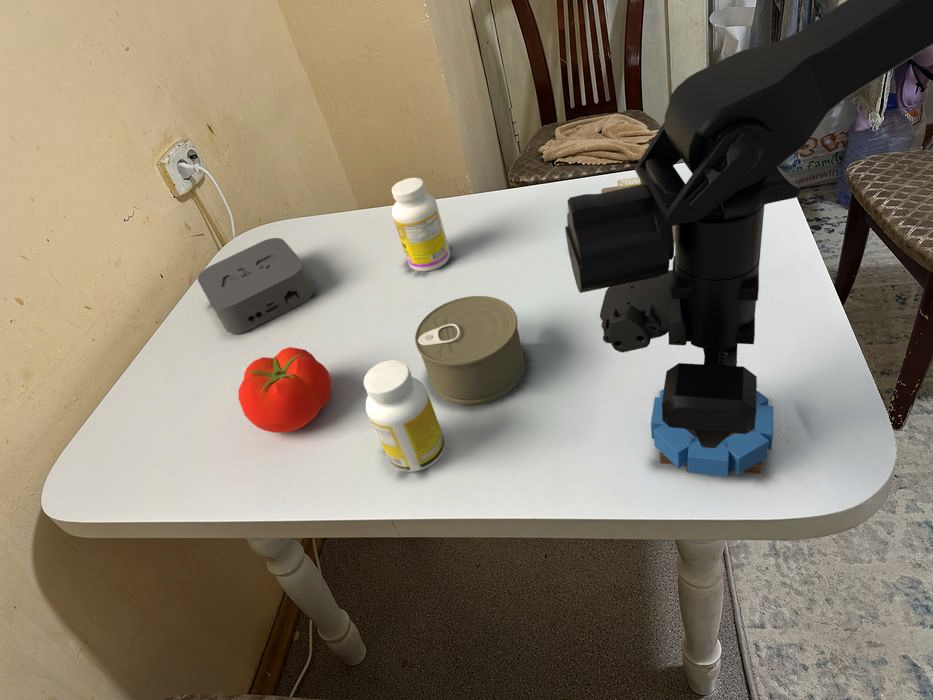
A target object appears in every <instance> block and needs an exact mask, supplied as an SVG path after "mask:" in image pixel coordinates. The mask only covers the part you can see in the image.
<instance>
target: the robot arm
mask: <svg viewBox="0 0 933 700" xmlns="http://www.w3.org/2000/svg"><path fill="white" fill-rule="evenodd" d="M932 46H933V0H845V1H843V2H842V3H841V4H839V5H837V6H836V7H834V8H833V9H832V10H830V11H828V12H827V13H825V14H824V15H822V16H821V17H819V18H818V19H816V20H815V21H814V22H812V23H810V24H809V25H807V26H805V28H803V29H801V30H799V31H797V32H795V33H793V34H791V35H789V36H787V37H785V38H783V39H781V40H778V41H774V42H770V43H766V44H762V45H758V46H756V47H755V46H754V47H750V48H746V49H742V50H740V51H738V52H736V53H734V54H731V55H730V56H728V57H725V58H723V59H721V60H719V61H717V62H715V63H713V64H710V65H709V66H707V67H705V68H703V69H700V70H699V71H696V72H695V73H693V74H691V75H690V76H688V77H687V78H685V79H684V80H683V81H682V82H681V83H680V84H679V85H677V87H676V88H675V89H674V90H673V92H672V93H671V95H670V96H669V102H668V105H667V108H666V110H665V114H664V122H663V123H662V125H661V127H660V128H659V129H658V131H657V132H656V134H655V136H654V137H653V139H652V140H651V141H650V144H649V145H648V146H647V148H646V149H645V151H644V153H643V154H642V155H641V157H640V159H639V160H638V162H637V164H636V165H635V166H634V171H635V173H636V175H637V178H639V183H640V184H641V185H637V186H632V187H628V188H623V189H618V190H614V191H609V192H605V193H601V192H600V193H585V194H579V195H575V196H570V197H569V198H568V199H567V210H568V212H567V215H566V222H567V225H566V226H565V227H564V229H565V237H566V244H567V248H568V249H567V250H568V254H569V260H570V265H571V269H572V272H573V278H574V280H575V284H576V287H577V290H578V293H580V294H583V293H588V292H593V291H598V290H602V289H606V290H605V293H604V297H603V301H602V305H601V308H600V312H599V319H600V320H601V325H600V326H601V329H602V330H603V336H602V340H603V342H605V344H611V346H612V348H613V350H615V351H616V352H619V353H627V352H631V351H637V350H640V349H646V348H648V346H649V345H650V344H651V340H653V339H658V338H661V337H663V336H666V335H667V334H668V345H669V346H686V345H687V343H688V342H690V344H691V346H694V347H696V348H700V349H702V350H703V355H704V356H703V357H704V359H703V363H686V362H685V363H684V362H678V363H677V364H675V365H673V366H672V367H670V368H669V369H668V370H666V373H665V379H664V385H663V389H664V392H663V399H662V421H663V422H664V423H665V424H666V425H668V426H669V427H672V428H683V429H694V431H695V434H696V436H697V438H698V440H699V442H700V445H701V446H702V447H705V448H716V447H717V446H718V445H719V444H720V443H721V442H722V441H723V440H724V439H725V438H726V437H728V436H729V435H730V434H731V433H739V434H747V433H749V432H750V431H752V430H754V429H755V420H756V403H757V391H758V389H757V387H758V385H757V384H758V383H757V382H758V379H757V375H756V374H754V373H753V372H752V371H750V370H749V369H748V368H746V367H745V366H742V365H738V347H739V346H738V344H739V345H755V336H756V335H755V334H756V316H755V315H756V307H757V302H758V301H759V292H760V291H759V290H760V261H761V250H762V249H761V248H762V238H763V237H762V236H763V228H764V227H763V225H764V215H765V205H769V204H772V203H779V202H782V201H786V200H792V199H795V198H797V197H799V196H800V195H801V188H800V187H799V186H798V185H797V183H795V181H794V180H792V178H791V177H790V176H788V174H787V173H786V172H785V171H784V170H783V169H782V168H781V167H780V165H782V164H783V163H784V162H786V161H787V160H788V159H789V158H791V157H792V156H793V155H794V154H796V153H797V152H798V151H800V150H801V149H802V148H803V147H804V146H805V145H806V144H807V143H808V141H809V140H810V139H811V137H812V136H813V135H814V133H815V131H816V130H817V129H818V127H819V126H820V125H821V123H822V122H823V120H824V119H825V118H826V116H827V115H828V114H829V113H830V112H831V111H832V110H833V109H835V108H836V107H837V106H838V105H840V104H841V103H842V102H843V101H845V100H846V99H847V98H849V97H851V96H852V95H854V94H855V93H857V92H858V91H860V90H862V89H863V88H865V87H866V86H868V85H870V84H872V83H873V82H876V80H878V79H880V78H881V77H883V76H885V75H886V74H887V73H889V72H891V71H893V70H895V69H896V68H897V67H900V65H901V66H902V65H903V64H904V63H905V62H908V61H909V60H911V59H912V58H914V57H915V56H917V55H919V54H920V53H922V52H924V51H925V50H927V49H929V48H930V47H932ZM681 160H682V162H683V163H684V165H685V166H686V168H688V170H689V171H690V172H691V176H690V177H689V179H688V180H687V181H686V182H685V181H684V180H683V178H682V176H681V175H680V174H679V171H677V169H676V168H675V165H676V164H678V162H680V161H681ZM672 226H675V240H674V238H673V227H672ZM671 260H672V269H670V261H671Z"/></svg>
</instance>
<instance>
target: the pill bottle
mask: <svg viewBox="0 0 933 700" xmlns="http://www.w3.org/2000/svg"><path fill="white" fill-rule="evenodd" d="M363 386H364V389H365V391H366V393H367V397H366V401H365V411H366V414H367V417H368V419H369V420H370V423H371V425H372V427H373V430H374V431H375V433H376V436H377V437H378V440H379V443H380V444H381V447H382V448H383V450H384V452H385V454H386V457H387V459H388V461H389V462H390V464H391V465H392V466H393V467H394V468H396V469H397V470H400V471H403V472H408V473H410V472H411V473H412V472H413V473H415V472H419V471H422V470H425V469H427V468H429V467H431V466H432V465H434V464H435V463H436V462H437V461H438V460H439V459H440V457H441V456H442V455H443V452H444V450H445V443H446V442H445V437H444V433H443V431H442V428H441V426H440V422H439V420H438V418H437V415H436V412H435V408H434V407H433V403H432V401H431V398H430V396H429V393H428V390H427V388H426V386H425V385H424V384H423V382H422V381H421V380H419V379H418V378H416V377H413V375H412V373H411V371H410V368H409V366H408V365H407V364H406V363H405V362H403V361H401V360H398V359H391V360H390V359H389V360H384V361H382V362H379V363H377V364H375V365H374V366H372V367H371V368H370V369H369V370H368V371H367V372H366V374H365V375H364V378H363Z"/></svg>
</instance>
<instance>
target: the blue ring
mask: <svg viewBox="0 0 933 700" xmlns="http://www.w3.org/2000/svg"><path fill="white" fill-rule="evenodd" d="M663 392H664V388H663V389H661V390H659V397H658V396H655V397H654V399H653V400H654V401H653V406H652V412H651V418H650V431H651V433H650V435H651V440H653V443H654V447H655V448H656V449H657V450H658V451H659V452H660V451H661V452H662V453H663V454H664V455H665V456H666V457H667V458H668V459H669V460H670V461H671V462H672V463H673V464H672V465H674V466H675V467H676V468H677V469H680V468H682V467H683V465H685V464H687V463H688V466H687V473H690V474H698V475H706V476H707V475H708V476H715V477H724V478H727V477H728V476H729V470H728V467H729V468H730V469H731V470H733V471H732V472H733V473H735V474H736V475H737V476H739V475H741V474H743V473H745V472H744V471H745V470H747V469H749V468H750V467H752V466H754V465H755V464H757V463H758V462H760V461H762V462H763V460H765V459H767V458H768V454H769V453H768V452H769V451H772V449H773V442H774V441H773V440H774V435H775V434H774V432H775V431H774V406H773V405H769V400H770V398H768V397H767V396H765V395H764V394H763V393H761V392H760V391H758V390H757V403H756V420H755V429H754V430H752V431H750V432H749V433H747V434H739V433H735V434H733V435H732V436H730V437H728V438H726V439H725V440H723V441H722V442H721V443H720V444H719V445H718V446H717V447H716V448H705V447H702V446H701V445H700V442H699V440H698V438H696V437H694V436H693V435H692V434H691V433H690V432H689V431H688V430H686V429H683V428H672V427H669V426H668V425H666V424H665V423H664V422H663V421H662V399H663Z"/></svg>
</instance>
